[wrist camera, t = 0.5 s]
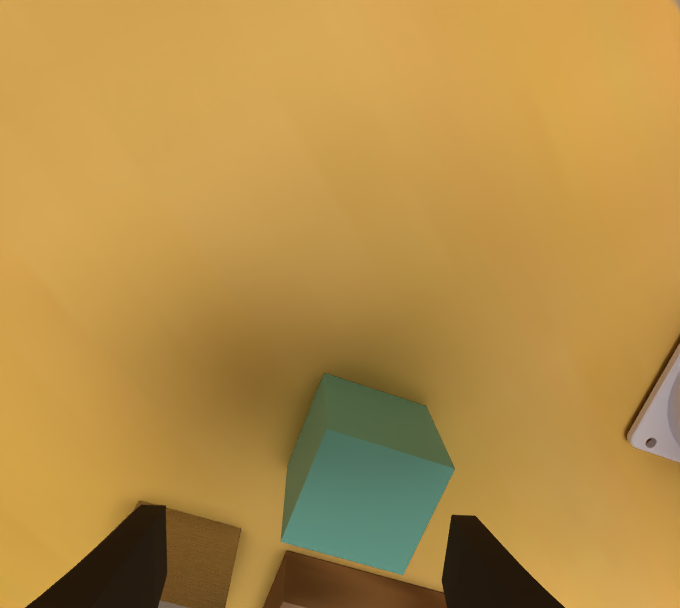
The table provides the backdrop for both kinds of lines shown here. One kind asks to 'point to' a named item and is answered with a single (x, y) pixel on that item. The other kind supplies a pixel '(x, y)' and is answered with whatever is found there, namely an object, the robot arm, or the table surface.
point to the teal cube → (364, 476)
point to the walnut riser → (342, 588)
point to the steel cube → (197, 561)
